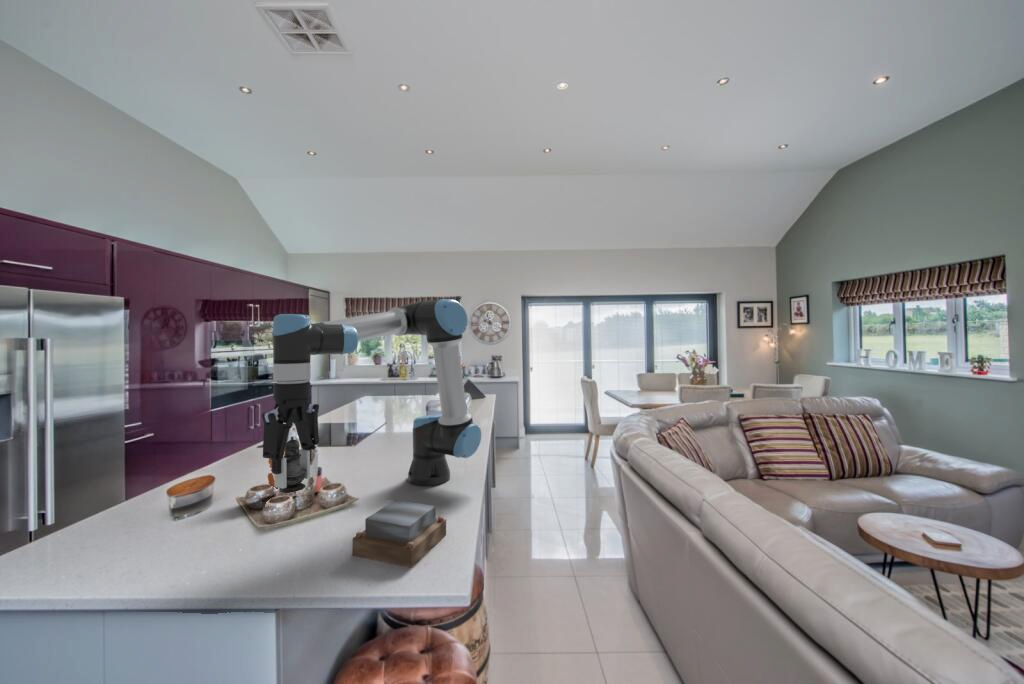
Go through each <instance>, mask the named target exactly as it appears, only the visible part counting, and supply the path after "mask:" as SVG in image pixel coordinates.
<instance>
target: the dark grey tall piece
mask: <svg viewBox="0 0 1024 684" xmlns="http://www.w3.org/2000/svg"><path fill="white" fill-rule="evenodd" d="M299 447H300V441H298V440H296V439H294V436H291V437H290V440H287V442H286V447H285V456H284V458H286V474H287V487H286V488H284V489H283V488H280V492H283V493H290V492H295V493H296V491H298V492H299V491H302V490H304V489H305V488H306V484H305V483H303V481H304V479H306V478H305V473H306V472H307V470H306V469H302V468H301V466H300V456H301V454H299ZM301 482H302V483H301Z"/></svg>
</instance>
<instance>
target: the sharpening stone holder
mask: <svg viewBox="0 0 1024 684" xmlns="http://www.w3.org/2000/svg"><path fill="white" fill-rule="evenodd" d="M436 511H437V510H436V505H431V504H424V503H417V502H412V501H411V502H410V501H405V500H397V499H395V500H394V501H391V502H390V503H388V504H386V505H385V506H383V507H382V508H380V509H379V510H378V511H376V512H373V514H371V515H369V516H367V517H366V518H365V520H364V521H365V527H364V528H365V529H364V530H363V531H359V532H356V533H355V536H354V537H352V553H351V554H352V556H353V557H359V558H364V559H367V560H368V559H369V560H373V561H378V562H382V563H387V564H390V565H391V564H392V565H396V566H402V567H406V568H411V569H412V568H413V567H414V566H416V565H417V563H419V562H420V561H421V560H422V559H423V558H424V557H425V556H426V555H427V554H428V553H429V552H430V551H431V550H432V549H433V548H434V547H436V545H438V544H439V542H441V541H442V539H444V538H445V537H446V536H447V519H446V518H445V517H444V516H442V515H441V516H438V517H436Z"/></svg>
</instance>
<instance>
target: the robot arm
mask: <svg viewBox="0 0 1024 684" xmlns="http://www.w3.org/2000/svg"><path fill="white" fill-rule="evenodd" d="M468 321H469V320H468V314H467V312H466V309H465V308H464V306H463V305H462V304H461V303H460V302H459V301H457V300H455V299H449V298H448V299H447V298H442V299H433V300H420V301H419V300H418V301H415V302H411V303H407V304H405V305H400V306H396V307H395V306H394V307H391V308H390V309H389V310H388V311H383V312H377V313H372V314H366V315H365V314H364V315H359V316H353V317H347V318H340V319H334V320H328V321H322V322H321V321H320V322H316V323H312V321H311V317H310V315H308V314H300V313H299V314H297V313H295V314H294V313H280V314H277V315H275V316H274V317H273V321H272V322H273V324H272V334H271V335H272V350H273V353H272V355H273V356H272V357H273V358H272V359H273V360H272V363H273V364H272V366H273V367H272V369H273V370H272V379H273V380H272V381H274V384H273V385H272V387H273V388H272V389H273V390H272V397H273V399H274V402H275V405H274V407H273V410H271V411H268V412H263V413H261V418H262V421H263V438H262V439H263V441H262V443H263V444H262V458H264V459H268V460H269V459H271V460H272V471H271V473H272V474H273V476H274V487H277V488H283V489H284V488H286V487H287V474H286V458H283V455H284V451H285V447H286V443H287V442H288V438H289V434H290V429H291V428H292V427H293V425H295V429H296V430H295V431H296V432H297V436H298V440H299V441H298V442H299V445H300V448H301V450H299V454H301V456H300V466H301V468H302V469H306V470H307V472H306V473H305V478H304V479H310V478H311V462H312V460H313V459H312V458H313V457H312V454H313V453H312V451H313V450H315V449H316V446H317V445H318V444H319V443H320V437H319V436H320V435H319V417H318V413H319V408H320V405H319V404H318V403H310V401H309V398H310V397H311V391H312V390H311V387H312V386H311V382H310V381H309V380H310V379H311V356H316V355H317V356H318V355H320V356H321V355H325V356H326V355H341V356H342V355H346V354H352V353H354V352H355V351H356V349H357V347H358V345H359V342H360V343H361V342H364V341H368V340H373V339H377V338H382V337H386V336H387V337H388V336H391V335H394V336H396V337H402V336H405V335H406V336H408V335H413V336H414V335H418V336H419V335H421V336H426V342H427V344H429V346H431V347H432V349H433V350H432V352H433V359H434V365H435V366H434V368H435V373H436V381H437V382H436V383H437V388H438V397H439V401H440V402H439V404H440V410H441V413H439V414H438V413H435V414H428V415H421V416H418V417H415V419H414V420H413V425H412V460H411V464H410V467H409V470H408V472H407V482H408V483H410V484H412V485H415V486H428V487H429V486H436V485H440V484H443V483H446V482H448V481H450V479H451V470H450V467H449V463H448V460H447V458H446V455H447V456H450V457H451V456H452V457H455V458H458V459H459V458H463V459H467V458H471V457H472V456H474V455H475V453H476V452H477V451H478V448H479V446H480V445H481V441H482V430H481V427H480V426H479V425H478V424H476V423H474V422H473V414H471V412H469V411H468V409H467V401H466V393H465V385H464V377H463V371H462V370H463V369H462V362H461V361H462V360H461V353H460V346H459V345H460V342H461V341H462V340H463V334H464V333H465V331H466V330H467V326H468V323H469V322H468ZM277 452H278V453H277Z"/></svg>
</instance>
